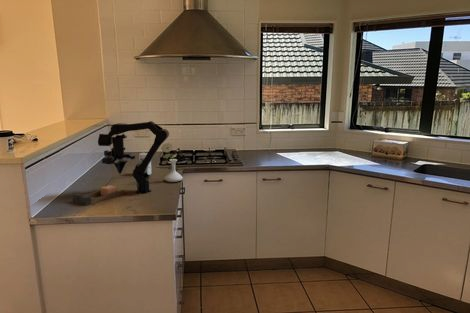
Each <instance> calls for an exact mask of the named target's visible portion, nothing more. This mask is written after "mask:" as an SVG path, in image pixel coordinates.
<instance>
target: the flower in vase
mask: <svg viewBox="0 0 470 313" xmlns="http://www.w3.org/2000/svg"><path fill="white" fill-rule="evenodd" d="M160 147H161V148H160V149H161V152H164V153H168V154H164V155H163V157H162V158H163V159H164V158H165V159H168V158H169V157H170V159H169V162H170V164H171V171H170V172H169V173H168V174H166V175H165V177H164V180H165V181H166V182H171V183H177V182H180V181H183V176H182V174H180V173H179V172H177V171H176V163H177V162H178V159H176V157H177V155H178V153H175V154H173V155H172V156H171V155H170V152H171V151H173V149H174V143H172V142H164V143H162V144H161V146H160Z"/></svg>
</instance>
